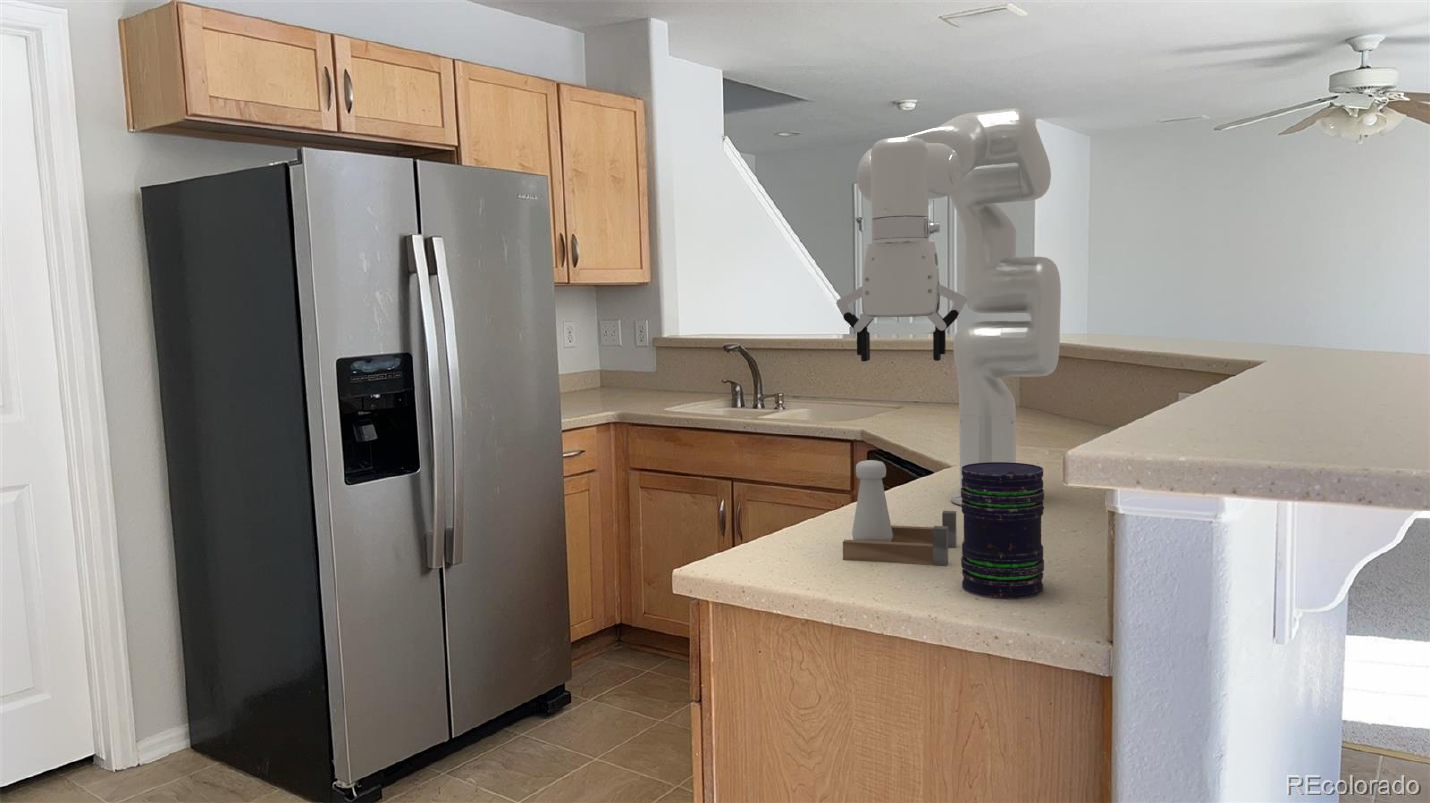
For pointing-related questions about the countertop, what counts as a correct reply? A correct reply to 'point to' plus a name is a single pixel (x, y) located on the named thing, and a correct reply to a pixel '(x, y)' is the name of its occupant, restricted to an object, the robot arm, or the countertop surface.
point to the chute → (908, 544)
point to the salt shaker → (871, 504)
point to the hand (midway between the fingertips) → (901, 360)
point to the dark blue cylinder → (1002, 530)
